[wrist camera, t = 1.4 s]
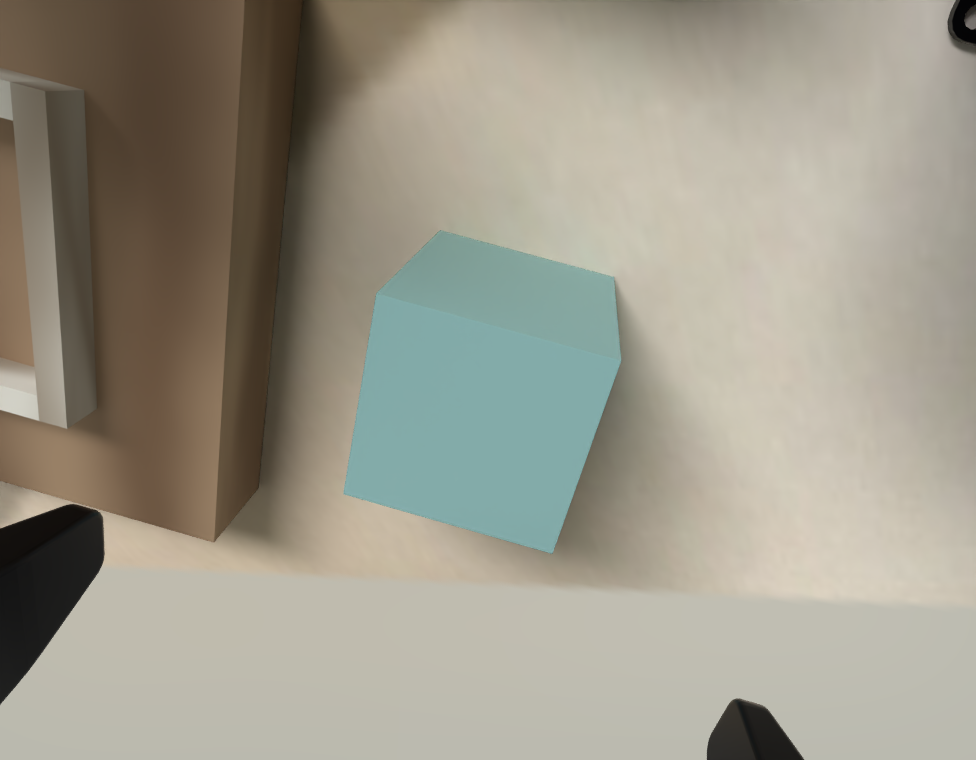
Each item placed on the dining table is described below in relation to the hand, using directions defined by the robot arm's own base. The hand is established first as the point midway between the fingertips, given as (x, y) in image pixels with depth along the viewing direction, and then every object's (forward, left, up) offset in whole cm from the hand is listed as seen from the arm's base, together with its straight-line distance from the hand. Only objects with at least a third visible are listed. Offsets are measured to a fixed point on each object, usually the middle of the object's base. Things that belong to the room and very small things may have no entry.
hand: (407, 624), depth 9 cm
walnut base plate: (+15, 0, -11) cm, 19 cm away
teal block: (0, 0, -12) cm, 12 cm away
